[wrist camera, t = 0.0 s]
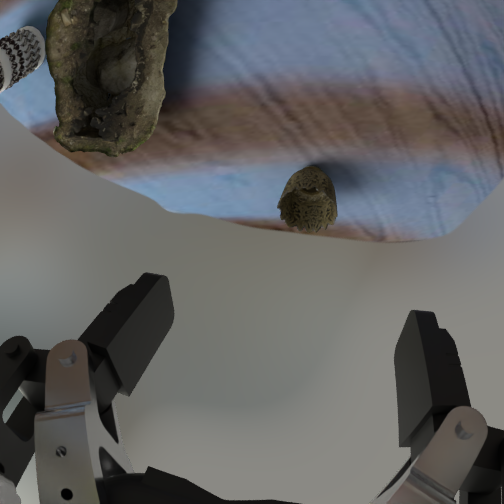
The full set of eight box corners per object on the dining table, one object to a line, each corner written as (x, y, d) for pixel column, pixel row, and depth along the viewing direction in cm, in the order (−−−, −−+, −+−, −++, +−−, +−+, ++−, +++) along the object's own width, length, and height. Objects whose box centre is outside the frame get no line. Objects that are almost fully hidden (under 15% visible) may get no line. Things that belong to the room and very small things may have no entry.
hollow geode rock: (177, -56, 23) (59, -62, 14) (222, -40, 20) (63, -56, 11) (125, 107, 44) (35, 121, 36) (149, 158, 41) (43, 179, 32)
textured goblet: (340, 193, 45) (338, 233, 40) (291, 194, 47) (283, 233, 42) (336, 150, 39) (334, 188, 35) (281, 153, 42) (271, 191, 37)
